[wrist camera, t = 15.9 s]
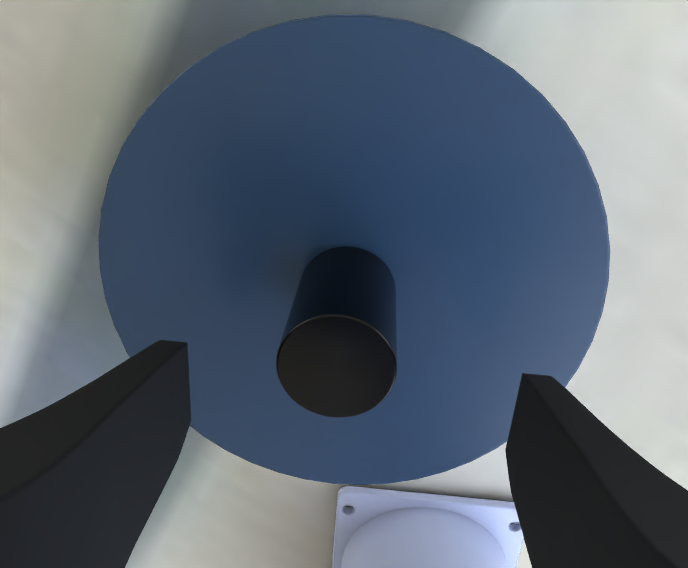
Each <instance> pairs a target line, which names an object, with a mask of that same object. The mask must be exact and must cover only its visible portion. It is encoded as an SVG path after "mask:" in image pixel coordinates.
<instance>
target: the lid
mask: <svg viewBox="0 0 688 568" xmlns="http://www.w3.org/2000/svg"><path fill="white" fill-rule="evenodd" d="M99 259H100V272H101V277H102V283H103V288H104V294H105V299H106V302H107V305H108V308H109V311H110V314H111V317H112V320H113V323H114V326H115V328H116V330H117V333H118V335H119V337H120V339H121V341H122V343H123V345H124V347H125V349H126V352H127V353H128V355H129V356H130V358H131V357H132V356H134V355H135V354H137V353H139V352H140V351H142V350H143V349H145V348H147V347H148V346H150V345H151V344H153V343H155V342H157V341H159V340H168V341H179V342H188V362H189V383H190V404H191V422H190V426H191V427H192V428H194V429H195V430H196V431H197V432H199V433H200V434H201V435H202V436H204V437H206V438H207V439H209V440H210V441H212V442H214V443H215V444H217V445H218V446H220V447H222V448H223V449H225V450H227V451H229V452H231V453H233V454H235V455H237V456H239V457H241V458H243V459H245V460H247V461H249V462H251V463H254V464H256V465H259V466H262V467H265V468H267V469H270V470H273V471H276V472H278V473H282V474H286V475H290V476H294V477H298V478H302V479H306V480H313V481H320V482H326V483H333V484H353V485H369V484H387V483H395V482H401V481H408V480H414V479H419V478H423V477H427V476H430V475H434V474H438V473H442V472H445V471H448V470H450V469H453V468H456V467H458V466H461V465H463V464H466V463H469V462H471V461H473V460H475V459H477V458H479V457H481V456H483V455H485V454H487V453H489V452H491V451H492V450H494V449H496V448H498V447H499V446H501V445H502V444H504V443H505V442H507V441H508V436H509V431H510V427H511V422H512V418H513V413H514V409H515V404H516V399H517V395H518V390H519V386H520V381H521V376H522V373H527V374H538V375H548V376H552V377H553V378H555V379H556V380H557V381H558V382H559V383H560V384H561V385H562V386H564V387H566V385H567V384H568V382H569V381H570V379H571V378H572V377H573V375H574V374H575V372H576V371H577V369H578V368H579V366H580V364H581V362H582V360H583V358H584V356H585V354H586V352H587V351H588V349H589V347H590V345H591V343H592V341H593V338H594V335H595V332H596V329H597V326H598V323H599V321H600V318H601V315H602V312H603V307H604V302H605V297H606V292H607V286H608V281H609V260H610V245H609V235H608V225H607V216H606V212H605V209H604V205H603V201H602V197H601V193H600V189H599V185H598V183H597V180H596V178H595V176H594V173H593V171H592V169H591V166H590V164H589V162H588V159H587V157H586V155H585V152H584V151H583V149H582V148H581V146H580V144H579V143H578V141H577V139H576V138H575V136H574V135H573V133H572V131H571V130H570V128H569V127H568V125H567V123H566V122H565V121H564V120H563V118H562V117H561V116H560V115H559V114H558V112H557V111H556V110H555V109H554V108H553V107H552V105H551V104H550V103H549V102H548V101H547V99H546V98H545V97H544V96H543V95H542V94H541V93H540V92H539V91H538V90H537V89H535V88H534V87H533V86H532V85H531V84H530V83H529V82H528V81H526V80H525V79H524V78H523V77H522V76H521V75H520V74H518V73H517V72H516V71H515V70H514V69H512V68H511V67H509V66H508V65H506V64H505V63H503V62H501V61H500V60H498V59H497V58H495V57H494V56H492V55H491V54H489V53H488V52H486V51H484V50H483V49H481V48H480V47H478V46H475V45H473V44H471V43H469V42H467V41H465V40H462V39H460V38H458V37H456V36H454V35H451V34H449V33H447V32H445V31H442V30H439V29H435V28H432V27H428V26H425V25H422V24H418V23H415V22H411V21H408V20H402V19H395V18H388V17H381V16H374V15H324V16H317V17H310V18H303V19H296V20H290V21H287V22H284V23H280V24H277V25H273V26H270V27H267V28H263V29H260V30H256V31H253V32H251V33H248V34H246V35H244V36H242V37H240V38H238V39H235V40H233V41H231V42H229V43H227V44H225V45H222V46H220V47H218V48H217V49H215V50H214V51H212V52H211V53H209V54H207V55H206V56H204V57H203V58H201V59H200V60H198V61H197V62H195V63H194V64H192V65H191V66H189V67H188V68H186V69H185V70H184V71H183V72H182V73H181V74H180V75H179V76H177V77H176V78H175V79H174V80H173V81H172V82H171V83H170V84H169V85H167V86H166V87H165V88H164V89H163V90H162V91H161V92H160V93H159V94H158V95H157V97H156V98H155V99H154V100H153V101H152V103H151V104H150V105H149V106H148V107H147V109H146V110H145V111H144V112H143V114H142V115H141V116H140V117H139V119H138V120H137V122H136V124H135V125H134V127H133V129H132V130H131V132H130V133H129V135H128V137H127V138H126V140H125V142H124V143H123V145H122V147H121V149H120V152H119V154H118V157H117V159H116V161H115V164H114V166H113V169H112V171H111V174H110V176H109V180H108V184H107V188H106V192H105V196H104V200H103V204H102V209H101V219H100V229H99Z"/></svg>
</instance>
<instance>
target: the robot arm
mask: <svg viewBox="0 0 688 568" xmlns="http://www.w3.org/2000/svg"><path fill="white" fill-rule="evenodd" d="M190 422H191V404H190V383H189V362H188V342H179V341H168V340H159V341H157V342H155V343H153V344H151V345H150V346H148V347H147V348H145V349H143V350H142V351H140V352H139V353H137V354H135V355H134V356H132V357H131V358H129V359H128V360H126V361H125V362H123V363H121V364H120V365H118V366H117V367H115V368H113V369H112V370H110V371H109V372H107V373H105V374H104V375H102V376H101V377H99V378H97V379H96V380H94V381H93V382H91V383H89V384H87V385H86V386H84V387H82V388H80V389H78V390H77V391H75V392H73V393H71V394H70V395H68V396H66V397H64V398H62V399H61V400H59V401H57V402H55V403H53V404H52V405H50V406H48V407H46V408H44V409H42V410H40V411H38V412H36V413H33V414H31V415H29V416H27V417H25V418H23V419H20V420H18V421H16V422H14V423H12V424H9V425H7V426H5V427H2V428H0V568H125V566H126V564H127V562H128V559H129V557H130V555H131V553H132V550H133V548H134V546H135V544H136V542H137V540H138V538H139V536H140V534H141V532H142V530H143V528H144V526H145V524H146V522H147V520H148V518H149V516H150V514H151V512H152V510H153V508H154V506H155V504H156V502H157V500H158V499H159V497H160V495H161V493H162V491H163V489H164V487H165V485H166V483H167V481H168V479H169V476H170V474H171V472H172V470H173V468H174V466H175V464H176V462H177V460H178V458H179V455H180V452H181V449H182V446H183V443H184V440H185V437H186V434H187V431H188V428H189V425H190ZM506 458H507V466H508V474H509V481H510V487H511V493H512V497H513V501H514V502H507V501H497V500H486V499H476V498H466V497H456V496H446V495H436V494H425V493H415V492H405V491H395V490H385V489H375V488H364V487H354V486H345V487H343V488H341V489H340V490H339V492H338V497H337V508H336V521H335V534H334V547H333V559H332V568H516V567H517V563H518V559H519V555H520V552H521V548H522V544H523V540H525V544H526V547H527V551H528V554H529V558H530V561H531V565H532V568H688V491H687V490H686V489H685V488H683V487H682V486H680V485H679V484H677V483H676V482H674V481H673V480H672V479H670V478H669V477H667V476H666V475H665V474H663V473H662V472H661V471H659V470H658V469H657V468H655V467H654V466H653V465H651V464H650V463H649V462H648V461H646V460H645V459H644V458H643V457H641V456H640V455H639V454H638V453H636V452H635V451H634V450H633V449H632V448H630V447H629V446H628V445H627V444H626V443H624V442H623V441H622V440H621V439H620V438H619V437H617V436H616V435H615V434H614V433H613V432H612V431H611V430H609V429H608V428H607V427H606V426H605V425H604V424H603V423H602V422H601V421H600V420H598V419H597V418H596V417H595V416H594V415H593V414H592V413H591V412H590V411H589V410H588V409H587V408H586V407H585V406H584V405H583V404H581V403H580V402H579V401H578V400H577V399H576V398H575V397H574V396H573V395H572V394H571V393H570V392H569V391H568V390H567V389H566V388H565V387H564V386H562V385H561V384H560V383H559V382H558V381H557V380H556V379H555V378H553V377H552V376H548V375H538V374H527V373H522V376H521V381H520V386H519V390H518V395H517V399H516V404H515V409H514V413H513V418H512V422H511V427H510V431H509V436H508V441H507V445H506ZM347 505H349V506H352V508H347V507H345V506H347ZM512 522H518V523H516V524H511V523H512Z"/></svg>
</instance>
